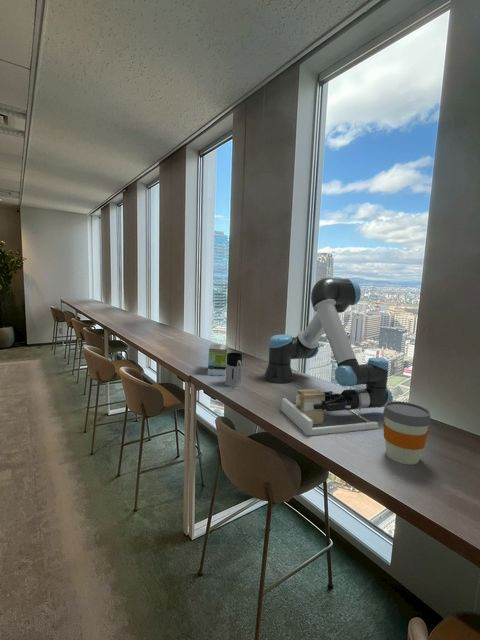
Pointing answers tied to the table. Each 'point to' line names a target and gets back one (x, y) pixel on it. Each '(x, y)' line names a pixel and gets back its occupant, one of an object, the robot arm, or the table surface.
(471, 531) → the table surface
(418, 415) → the reusable coffee cup
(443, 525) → the table surface
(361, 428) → the bay
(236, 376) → the glass holder
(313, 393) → the tan cardboard box
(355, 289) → the robot arm
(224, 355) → the tea box
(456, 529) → the table surface
